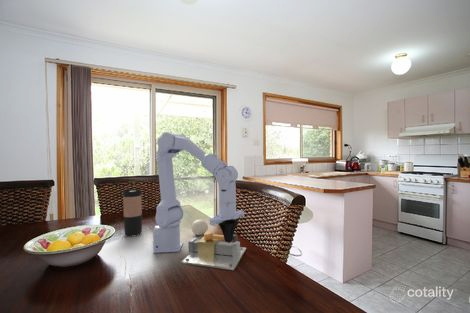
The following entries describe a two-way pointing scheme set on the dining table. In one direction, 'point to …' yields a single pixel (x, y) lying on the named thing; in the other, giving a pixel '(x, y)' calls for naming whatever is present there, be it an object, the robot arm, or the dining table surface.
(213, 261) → the mounting plate
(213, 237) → the lever
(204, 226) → the baseball
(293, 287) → the dining table surface
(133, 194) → the travel mug
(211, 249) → the pipe valve
